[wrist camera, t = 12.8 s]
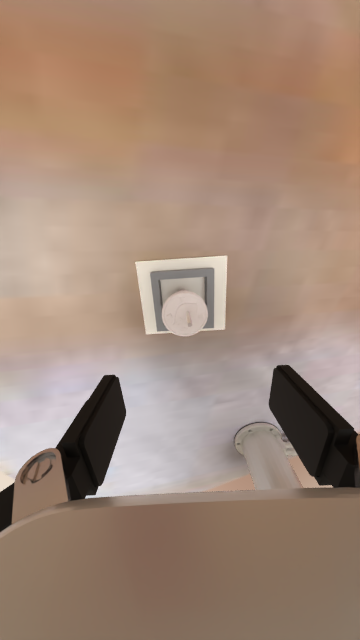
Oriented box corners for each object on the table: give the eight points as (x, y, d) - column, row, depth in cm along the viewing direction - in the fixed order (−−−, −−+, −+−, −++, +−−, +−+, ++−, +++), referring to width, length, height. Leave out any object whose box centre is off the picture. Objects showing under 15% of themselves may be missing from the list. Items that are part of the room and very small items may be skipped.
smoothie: (206, 297, 32) (227, 326, 19) (183, 321, 34) (187, 362, 20) (181, 274, 30) (184, 287, 17) (158, 300, 32) (145, 330, 19)
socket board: (225, 255, 30) (232, 255, 27) (223, 327, 35) (229, 335, 32) (136, 261, 31) (130, 262, 27) (146, 332, 35) (143, 341, 32)
